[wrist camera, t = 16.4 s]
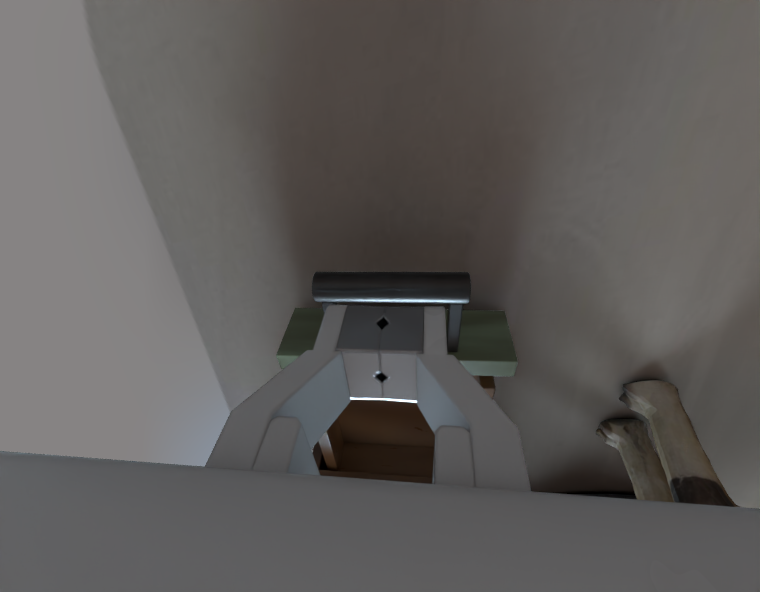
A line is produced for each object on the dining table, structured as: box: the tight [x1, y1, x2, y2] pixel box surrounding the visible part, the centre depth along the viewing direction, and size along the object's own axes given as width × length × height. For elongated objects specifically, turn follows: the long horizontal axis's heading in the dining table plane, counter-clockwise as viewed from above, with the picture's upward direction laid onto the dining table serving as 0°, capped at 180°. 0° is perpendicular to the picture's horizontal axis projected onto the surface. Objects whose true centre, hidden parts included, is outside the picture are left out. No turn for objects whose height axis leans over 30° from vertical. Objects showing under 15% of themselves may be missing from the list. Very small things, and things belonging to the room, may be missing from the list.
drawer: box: [276, 272, 518, 477], centre depth 23 cm, size 19×12×4 cm, turn 3°
